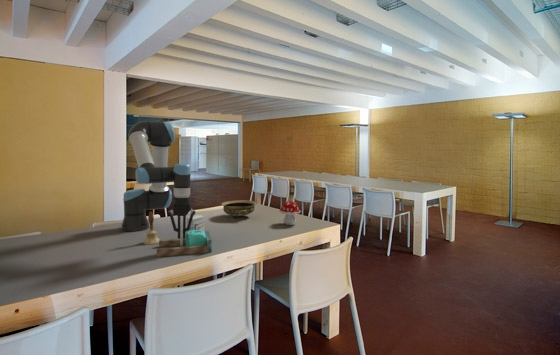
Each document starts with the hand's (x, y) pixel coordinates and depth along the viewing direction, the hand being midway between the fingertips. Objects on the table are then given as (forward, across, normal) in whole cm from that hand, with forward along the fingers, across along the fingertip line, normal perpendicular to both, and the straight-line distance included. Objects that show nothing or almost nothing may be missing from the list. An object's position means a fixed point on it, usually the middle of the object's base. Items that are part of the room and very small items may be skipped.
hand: (181, 245), depth 153 cm
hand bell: (+3, -15, +16) cm, 22 cm away
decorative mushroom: (0, +66, +35) cm, 75 cm away
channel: (+2, +2, 0) cm, 3 cm away
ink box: (+2, +7, +18) cm, 20 cm away
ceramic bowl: (+1, +38, +63) cm, 73 cm away
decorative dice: (+2, +7, 0) cm, 7 cm away
